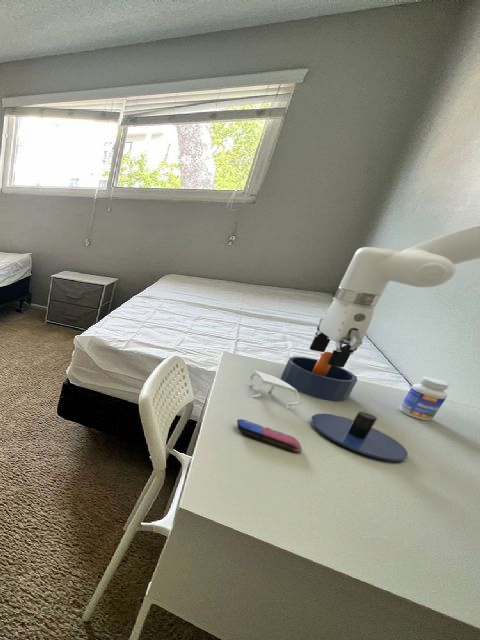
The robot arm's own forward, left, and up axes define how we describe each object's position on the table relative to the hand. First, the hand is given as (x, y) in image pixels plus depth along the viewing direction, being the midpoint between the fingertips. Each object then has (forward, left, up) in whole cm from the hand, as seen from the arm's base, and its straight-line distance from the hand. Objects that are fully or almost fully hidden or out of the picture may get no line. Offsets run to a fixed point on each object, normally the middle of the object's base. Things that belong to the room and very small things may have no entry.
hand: (325, 357), depth 93 cm
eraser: (+21, +35, -9) cm, 41 cm away
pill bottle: (-19, +4, -9) cm, 22 cm away
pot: (0, 0, -9) cm, 9 cm away
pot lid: (+2, +25, -9) cm, 26 cm away
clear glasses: (+14, +14, -9) cm, 21 cm away
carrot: (0, 0, -9) cm, 9 cm away
